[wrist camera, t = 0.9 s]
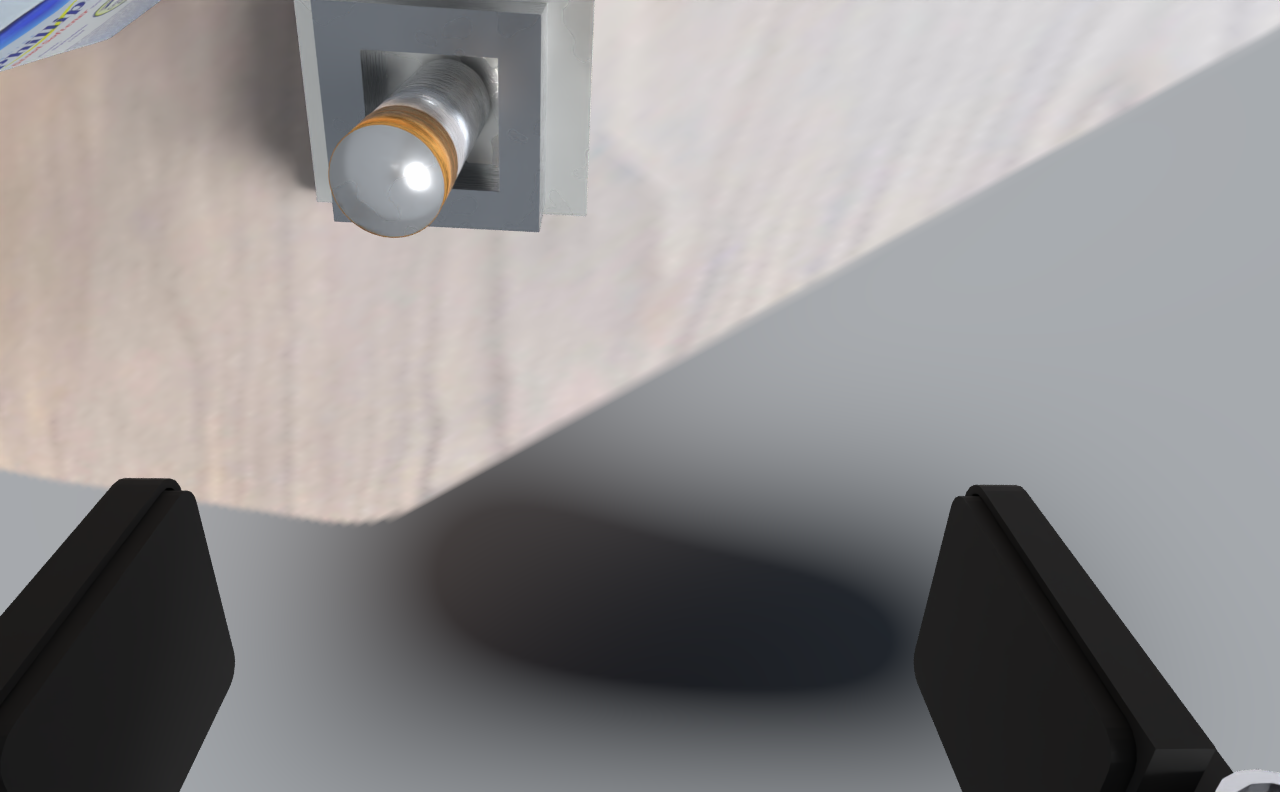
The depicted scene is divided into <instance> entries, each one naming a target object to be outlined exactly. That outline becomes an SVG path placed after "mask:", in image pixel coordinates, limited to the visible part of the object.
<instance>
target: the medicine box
mask: <svg viewBox="0 0 1280 792" xmlns="http://www.w3.org/2000/svg"><path fill="white" fill-rule="evenodd" d="M159 1H161V0H0V72H1V71H4V70H8V69H11V68H14V67H17V66H20V65H24V64H27V63H30V62H33V61H37V60H40V59H43V58H47V57H50V56H53V55H56V54H60V53H63V52H68V51H71V50H74V49H77V48H80V47H84V46H87V45H91V44H94V43H97V42H101V41H103V40H106V39H109V38H111V37H112V36H114V35H115V34H116V33H118V32H119V31H120V30H122V29H123V28H124V27H126V26H127V25H128V24H130V23H131V22H132V21H134V20H135V19H136V18H138V17H139V16H141V15H142V14H143V13H145V12H146V11H147V10H149V9H150V8H151V7H152V6H154V5H155V4H157V3H158V2H159Z"/></svg>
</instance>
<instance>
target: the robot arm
mask: <svg viewBox="0 0 1280 792" xmlns="http://www.w3.org/2000/svg"><path fill="white" fill-rule="evenodd" d="M234 667H235V656H234V651H233V647H232V643H231V639H230V635H229V631H228V626H227V623H226V619H225V615H224V611H223V606H222V603H221V598H220V594H219V591H218V586H217V582H216V578H215V574H214V570H213V566H212V562H211V558H210V555H209V550H208V546H207V542H206V538H205V534H204V530H203V526H202V522H201V518H200V515H199V510H198V506H197V502H196V499H195V497H194V495H193V494H192V492H190V491H182V490H181V488H180V486H179V484H178V483H177V482H176V481H175V480H173V479H166V478H124V479H119V480H118V481H117V482H116V483H114V484H113V485H112V486H111V488H110V489H109V490H108V491H107V492H106V493H105V495H104V496H103V497H102V498H101V499H100V500H99V502H98V503H97V504H96V505H95V506H94V508H93V509H92V510H91V511H90V512H89V513H88V515H87V516H86V517H85V518H84V519H83V520H82V522H81V523H80V524H79V525H78V526H77V528H76V529H75V530H74V531H73V532H72V533H71V534H70V536H69V537H68V538H67V539H66V540H65V542H64V543H63V544H62V545H61V546H60V547H59V548H58V550H57V551H56V552H55V553H54V554H53V555H52V557H51V558H50V559H49V560H48V561H47V562H46V564H45V565H44V566H43V567H42V568H41V570H40V571H39V572H38V573H37V574H36V575H35V576H34V578H33V579H32V580H31V581H30V582H29V584H28V585H27V586H26V587H25V588H24V589H23V591H22V592H21V593H20V594H19V595H18V596H17V598H16V599H15V600H14V601H13V602H12V603H11V605H10V606H9V607H8V608H7V609H6V610H5V612H4V613H3V614H2V615H1V616H0V792H179V791H180V789H181V787H182V785H183V783H184V781H185V779H186V777H187V774H188V773H189V770H190V769H191V766H192V764H193V762H194V760H195V758H196V756H197V754H198V752H199V750H200V748H201V746H202V744H203V741H204V739H205V737H206V735H207V733H208V731H209V729H210V727H211V725H212V723H213V721H214V718H215V716H216V714H217V712H218V710H219V708H220V706H221V704H222V702H223V699H224V698H225V696H226V694H227V691H228V689H229V687H230V685H231V682H232V679H233V675H234ZM914 671H915V676H916V680H917V683H918V685H919V688H920V690H921V693H922V695H923V697H924V700H925V703H926V705H927V707H928V710H929V712H930V715H931V717H932V720H933V722H934V724H935V727H936V729H937V731H938V734H939V737H940V739H941V741H942V744H943V746H944V748H945V751H946V753H947V756H948V758H949V760H950V763H951V765H952V768H953V770H954V773H955V775H956V777H957V780H958V782H959V785H960V787H961V789H962V792H1280V773H1277V772H1271V771H1265V770H1259V769H1255V770H1245V771H1237V772H1235V773H1233V772H1232V770H1231V769H1230V767H1229V766H1228V765H1227V763H1226V762H1225V761H1224V759H1223V758H1222V757H1221V755H1220V754H1219V753H1218V752H1217V750H1216V748H1215V746H1214V745H1213V743H1212V742H1211V741H1210V740H1209V738H1208V737H1207V735H1206V734H1205V733H1204V731H1203V730H1202V729H1201V727H1200V726H1199V725H1198V723H1197V722H1196V720H1195V719H1194V718H1193V716H1192V715H1191V714H1190V712H1189V711H1188V710H1187V708H1186V707H1185V706H1184V704H1183V703H1182V702H1181V700H1180V699H1179V698H1178V696H1177V695H1176V693H1175V692H1174V691H1173V689H1172V688H1171V687H1170V685H1169V684H1168V683H1167V681H1166V680H1165V679H1164V677H1163V676H1162V675H1161V673H1160V672H1159V670H1158V669H1157V668H1156V666H1155V665H1154V664H1153V662H1152V661H1151V660H1150V658H1149V657H1148V656H1147V654H1146V653H1145V652H1144V650H1143V649H1142V647H1141V646H1140V645H1139V643H1138V642H1137V641H1136V639H1135V638H1134V637H1133V635H1132V634H1131V633H1130V631H1129V630H1128V629H1127V627H1126V626H1125V625H1124V623H1123V622H1122V620H1121V619H1120V618H1119V616H1118V615H1117V614H1116V612H1115V611H1114V610H1113V608H1112V607H1111V606H1110V604H1109V603H1108V602H1107V600H1106V599H1105V597H1104V596H1103V595H1102V593H1101V592H1100V591H1099V589H1098V588H1097V587H1096V585H1095V584H1094V583H1093V581H1092V580H1091V579H1090V577H1089V576H1088V574H1087V573H1086V572H1085V570H1084V569H1083V568H1082V566H1081V565H1080V564H1079V562H1078V561H1077V560H1076V558H1075V557H1074V556H1073V554H1072V553H1071V551H1070V550H1069V549H1068V547H1067V546H1066V545H1065V543H1064V542H1063V541H1062V539H1061V538H1060V537H1059V535H1058V534H1057V533H1056V531H1055V530H1054V528H1053V527H1052V526H1051V525H1050V523H1049V522H1048V520H1047V519H1046V518H1045V516H1044V515H1043V514H1042V512H1041V511H1040V510H1039V508H1038V507H1037V506H1036V504H1035V503H1034V502H1033V500H1032V499H1031V497H1030V496H1029V495H1028V493H1027V492H1026V491H1025V490H1024V489H1023V488H1022V487H1021V486H1017V485H973V486H971V487H970V488H969V490H968V491H967V492H966V495H965V496H958V497H956V498H955V499H954V501H953V503H952V506H951V509H950V513H949V518H948V521H947V525H946V529H945V533H944V537H943V541H942V545H941V549H940V553H939V557H938V561H937V565H936V569H935V573H934V577H933V581H932V585H931V589H930V593H929V597H928V601H927V605H926V609H925V613H924V617H923V621H922V624H921V629H920V633H919V636H918V641H917V644H916V648H915V653H914Z"/></svg>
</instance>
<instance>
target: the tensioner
mask: <svg viewBox="0 0 1280 792" xmlns="http://www.w3.org/2000/svg"><path fill="white" fill-rule="evenodd" d="M594 2H595V0H294V8H295V16H296V25H297V33H298V42H299V50H300V59H301V67H302V76H303V85H304V93H305V102H306V110H307V119H308V127H309V136H310V144H311V153H312V161H313V170H314V178H315V187H316V195H317V202H331V203H332V204H333V213H334V221H337V222H352V221H351V220H349V219H348V217H347V216H346V215H345V214H344V213H343V212H342V211H341V209H340V208H339V206H338V205H337V203H336V201H335V199H334V197H333V195H332V192H331V189H330V185H329V178H328V169H329V162H330V158H331V156H332V153H333V151H334V149H335V147H336V146H337V144H338V143H339V142H340V141H341V139H342V138H343V137H344V136H346V135H347V134H348V133H349V132H350V131H351V130H352V129H353V128H354V127H355V126H356V125H358V124H359V123H360V122H361V121H362V120H363V119H364V118H365V117H366V116H367V115H369V114H370V113H372V112H373V111H374V110H375V109H376V108H377V107H378V106H379V105H381V104H382V103H383V102H384V101H385V100H386V99H387V98H388V97H389V96H390V95H391V94H392V93H393V92H395V91H396V90H397V89H398V88H399V87H400V86H401V85H402V84H403V83H404V82H405V81H406V80H408V79H409V78H410V77H411V76H412V75H413V74H414V73H415V72H416V71H417V70H418V69H419V68H421V67H422V66H423V65H425V64H426V63H429V62H431V61H434V60H438V59H451V60H455V61H459V62H461V63H463V64H465V65H467V66H469V67H470V68H471V69H473V70H474V71H475V72H476V73H477V74H478V75H479V77H480V78H481V79H482V81H483V82H484V84H485V86H486V88H487V91H488V95H489V100H490V111H489V116H488V119H487V122H486V124H485V126H484V128H483V129H482V131H481V133H480V135H479V137H478V139H477V141H476V143H475V144H474V146H473V148H472V150H471V152H470V154H469V156H468V158H467V159H466V161H465V163H464V165H463V167H462V169H461V171H460V173H459V174H458V176H457V178H456V180H455V183H454V185H453V187H452V189H451V191H450V193H449V195H448V197H447V199H446V201H445V202H444V204H443V206H442V208H441V210H440V212H439V214H438V215H437V217H436V218H435V219H434V221H433V222H432V223H431V224H430V225H429V226H432V227H451V228H470V229H489V230H508V231H527V232H539V231H540V226H541V221H542V216H543V214H554V215H573V216H586V213H587V190H588V163H589V136H590V109H591V83H592V56H593V29H594Z"/></svg>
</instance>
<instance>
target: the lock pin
mask: <svg viewBox="0 0 1280 792" xmlns="http://www.w3.org/2000/svg"><path fill="white" fill-rule="evenodd" d="M489 111H490V100H489V95H488V91H487V88H486V86H485V84H484V82H483V81H482V79H481V78H480V77H479V75H478V74H477V73H476V72H475V71H474V70H473V69H471V68H470V67H469V66H467V65H465V64H463V63H461V62H459V61H455V60H451V59H438V60H434V61H431V62H429V63H426V64H425V65H423V66H422V67H421V68H419V69H418V70H417V71H416V72H415V73H414V74H413V75H412V76H411V77H410V78H409V79H408V80H406V81H405V82H404V83H403V84H402V85H401V86H400V87H399V88H398V89H397V90H396V91H395V92H393V93H392V94H391V95H390V96H389V97H388V98H387V99H386V100H385V101H384V102H383V103H382V104H381V105H379V106H378V107H377V108H376V109H375V110H374V111H373V112H372V113H370V114H369V115H367V116H366V117H365V118H364V119H363V120H362V121H361V122H360V123H359V124H358V125H356V126H355V127H354V128H353V129H352V130H351V131H350V132H349V133H348V134H347V135H346V136H344V137H343V138H342V139H341V141H340V142H339V143H338V144H337V146H336V147H335V149H334V151H333V153H332V156H331V158H330V162H329V169H328V178H329V185H330V189H331V192H332V195H333V197H334V199H335V201H336V203H337V205H338V206H339V208H340V209H341V211H342V212H343V213H344V214H345V215H346V216H347V217H348V219H349V220H351V221H352V222H353V223H354V224H356V225H357V226H359V227H360V228H362V229H363V230H365V231H367V232H370V233H372V234H375V235H378V236H383V237H390V238H399V237H406V236H410V235H413V234H415V233H418V232H420V231H421V230H423V229H425V228H426V227H427V226H429V225H430V224H431V223H432V222H433V221H434V219H435V218H436V217H437V215H438V214H439V212H440V210H441V208H442V206H443V204H444V202H445V201H446V199H447V197H448V195H449V193H450V191H451V189H452V187H453V185H454V183H455V180H456V178H457V176H458V174H459V173H460V171H461V169H462V167H463V165H464V163H465V161H466V159H467V158H468V156H469V154H470V152H471V150H472V148H473V146H474V144H475V143H476V141H477V139H478V137H479V135H480V133H481V131H482V129H483V128H484V126H485V124H486V122H487V119H488V116H489Z"/></svg>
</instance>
